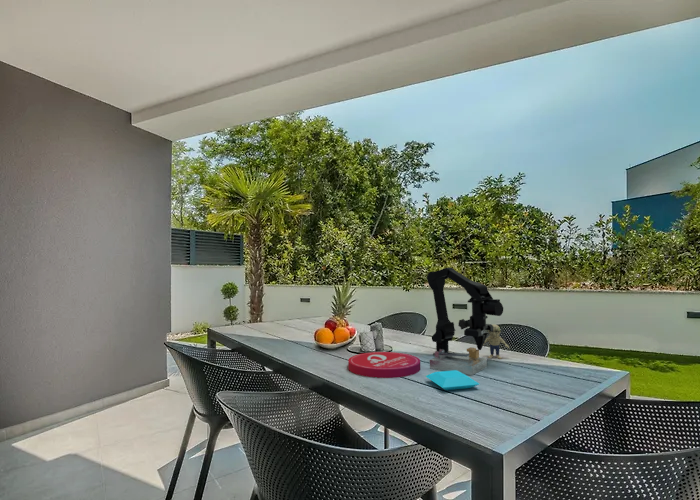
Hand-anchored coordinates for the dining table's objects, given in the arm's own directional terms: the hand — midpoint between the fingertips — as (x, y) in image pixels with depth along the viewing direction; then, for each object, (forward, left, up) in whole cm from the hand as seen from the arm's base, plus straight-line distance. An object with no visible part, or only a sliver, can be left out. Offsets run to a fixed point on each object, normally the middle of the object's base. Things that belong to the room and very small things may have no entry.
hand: (479, 349), depth 176 cm
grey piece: (+12, -4, -6) cm, 14 cm away
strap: (+15, -5, 0) cm, 16 cm away
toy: (-14, +2, -6) cm, 15 cm away
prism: (+36, +4, -6) cm, 37 cm away
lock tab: (+8, 0, -2) cm, 8 cm away
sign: (+30, -29, -6) cm, 42 cm away
